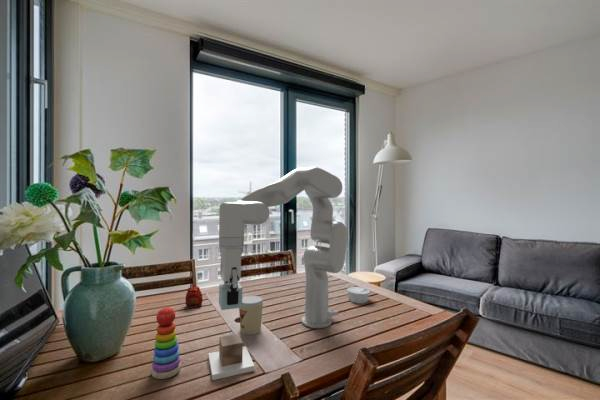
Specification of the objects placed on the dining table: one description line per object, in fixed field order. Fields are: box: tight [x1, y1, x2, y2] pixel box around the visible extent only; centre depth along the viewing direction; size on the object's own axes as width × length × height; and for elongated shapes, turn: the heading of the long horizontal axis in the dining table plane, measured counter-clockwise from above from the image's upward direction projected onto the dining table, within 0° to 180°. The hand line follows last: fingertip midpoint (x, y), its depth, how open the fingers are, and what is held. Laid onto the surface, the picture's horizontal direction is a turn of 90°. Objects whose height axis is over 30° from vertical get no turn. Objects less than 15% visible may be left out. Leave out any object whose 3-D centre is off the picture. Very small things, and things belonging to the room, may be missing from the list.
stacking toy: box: [151, 307, 182, 380], centre depth 84 cm, size 8×8×19 cm
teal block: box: [218, 281, 243, 311], centre depth 88 cm, size 6×6×6 cm
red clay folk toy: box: [185, 274, 204, 309], centre depth 135 cm, size 8×7×15 cm
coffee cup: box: [238, 294, 264, 336], centre depth 111 cm, size 9×9×12 cm
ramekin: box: [346, 286, 371, 304], centre depth 145 cm, size 11×11×5 cm
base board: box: [208, 345, 255, 381], centre depth 88 cm, size 12×12×2 cm
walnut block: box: [218, 333, 244, 367], centre depth 88 cm, size 6×6×6 cm
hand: (230, 300), depth 88 cm, fingers closed on teal block, 6 cm apart
